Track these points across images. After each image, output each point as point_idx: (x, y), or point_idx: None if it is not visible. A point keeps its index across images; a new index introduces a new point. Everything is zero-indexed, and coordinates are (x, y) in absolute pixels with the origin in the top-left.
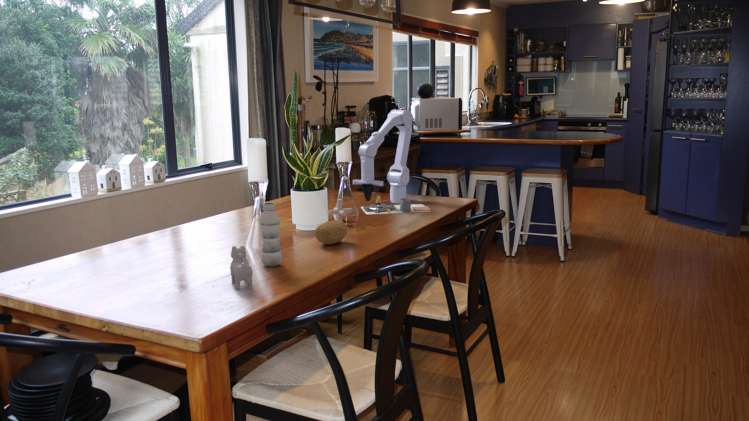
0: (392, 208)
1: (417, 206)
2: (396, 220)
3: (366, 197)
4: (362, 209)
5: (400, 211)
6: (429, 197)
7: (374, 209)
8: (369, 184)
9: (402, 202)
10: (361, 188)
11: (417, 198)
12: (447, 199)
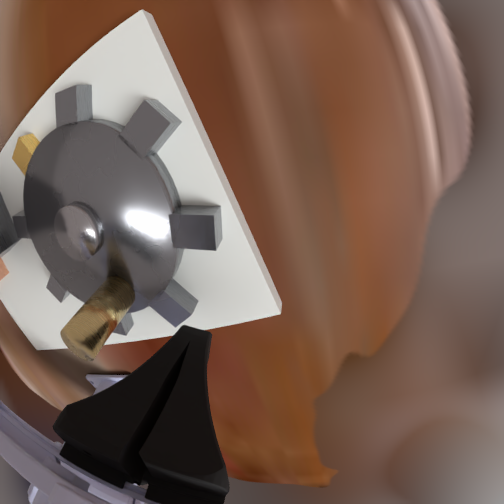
0: (25, 214)
1: (18, 309)
2: (6, 33)
3: (188, 352)
4: (233, 208)
5: (3, 190)
6: None
7: (84, 120)
8: (96, 475)
9: None
10: (216, 455)
11: None
12: (57, 402)
